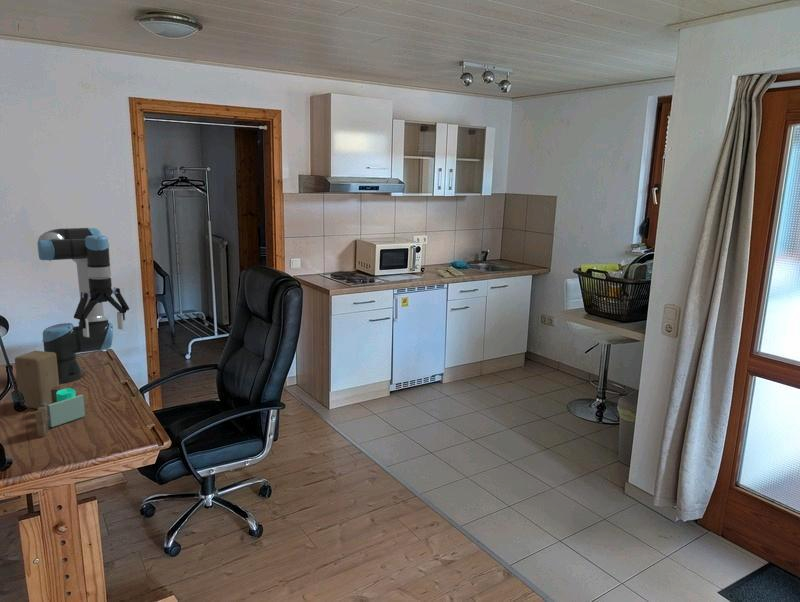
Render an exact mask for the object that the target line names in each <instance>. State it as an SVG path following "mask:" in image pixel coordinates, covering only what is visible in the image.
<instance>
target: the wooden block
mask: <svg viewBox="0 0 800 602" xmlns="http://www.w3.org/2000/svg"><path fill="white" fill-rule="evenodd" d="M14 364H15V373H16V382H17V392H18V391H19V392H21V393H22V394H23V396H24V400H25V402H24V405H25V406H26V407H25V408H29V409H37V410H38V408H39V407H40V404H42V403H47V407H48V405H49V404H52V397H51V389H52V388H54V387H57V386H60V383H59V378H58V368H57V358H56V353H54V352H45V351H44V350H43V351H42V350H32V351H29V352H26V353H24V354H21V355H17V356H15V358H14Z"/></svg>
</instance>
